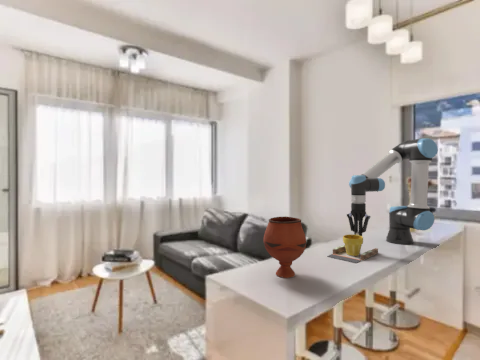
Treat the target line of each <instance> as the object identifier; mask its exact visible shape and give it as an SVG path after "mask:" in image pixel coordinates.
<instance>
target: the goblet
mask: <svg viewBox="0 0 480 360" xmlns="http://www.w3.org/2000/svg"><path fill="white" fill-rule="evenodd" d="M262 239H263V246H264V248H265V250H266V252H267V253H268V254H269V255H270V256H271V257H272V258H273V259H274V260H276V261H278V264H279V265H280V266H279V267H278V268H277V270H276V272H275V275H276V277H279V278H282V279H283V278H284V279H288V278H289V279H290V278H293V277H295V276H296V273H295V271H294V269H293V268H292V265H293V262H294V261H296V260H297V259H299V258H300V257H301V256H302V255H303V254H304V252H305V250H306V248H307V237H306V234H305V232H304V229H303V225H302V219H301V218H297V217H291V216H276V217H270V218H269V219H268V223H267V226H266V228H265V230H264V234H263V238H262Z"/></svg>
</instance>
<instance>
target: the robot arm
mask: <svg viewBox="0 0 480 360" xmlns="http://www.w3.org/2000/svg"><path fill="white" fill-rule="evenodd" d="M438 150H439V149H438V144H437V143H436V142H435V141H434V139H432V138H430V137H429V138H428V137H427V138H417V139H409V140H404V141H402V142H401V143H398V144H397V145H395V146H394V147H393V148H391V149H390V150H389V151H388V153H387V155H385V156H384V157H383V158H381V159H380V160H378V161H377V162H376V163H375V164H373V165H372V166H371V167H369V168H368V169H366V170H365V171H364V172H363V173H361V174H356V175H354V174H353V175H352V176H351V178H350V180H349V182H348V186H349V188H350V189H351V190H350V191H351V195H350V196H351V197H350V199H351V201H350V202H351V203H350V207H351V209H350V212H349V213H348V214H347V213H346V217H347V218H348V222H349V228H350V231H351V232H353V233H354V234H353V235H360V236H362V237H363V233H365V232H367V228H368V224H369V220H370V218H371V215H368V214H367V211H366V207H367V206H366V202H367V201H366V196H367V195H366V194H367V193H369V192H370V193H371V192H373V193H374V192H377V193H378V192H382V191H383V190H385V188H386V181H385V180H384V179H383V178H381V176H382V175H383V174H384V173H385V172H387V171H388V170H389V169H391V168H392V167H393V166H395V165H396V164H400V163H401V162H404V161H405V160H409V161H408V162H409V163H411V174H410V175H411V176H410V177H411V179H410V202H409V203H408V205H397V206H396V205H395V206H390V207H389V212H388V213H389V217H388V218H389V220H388V221H389V225H388V226H389V229H388V232H387V235H386V242H389V243H391V244H397V245H411V244H414V238H413V236H412V233H411V229H414V230H417V231H428V230H429V229H431V228H432V227H433V225H434V223H435V215H434V213H433V212H431V211H430V210H431V208H430V206H428V194H429V193H428V191H429V190H428V186H429V172H430V171H429V168H430V167H429V165H430V163H432V162H433V158H434V157H436V156H437V154H438ZM379 177H380V178H379ZM363 220H364V221H363Z"/></svg>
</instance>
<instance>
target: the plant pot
mask: <svg viewBox="0 0 480 360" xmlns="http://www.w3.org/2000/svg"><path fill="white" fill-rule="evenodd" d="M342 242H343V245H345V248H346V250H345V251H346V255H348V256H351V257H352V256H353V257H359V256H360V255H361V254H360V253H361V251H362V245H363V243H364V236H363V235H362V236H360V235H354V234H345V235H343V236H342Z"/></svg>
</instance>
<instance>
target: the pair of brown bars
mask: <svg viewBox="0 0 480 360" xmlns="http://www.w3.org/2000/svg"><path fill="white" fill-rule="evenodd" d="M345 251H346V248H345V244H343V245H340V246H337V247H334V248H332V254H336V255H339V254H340V253H342V252H345ZM378 253H379V248H377V247H375V248H373V249H370V250H367V251H365V252H363V253H361V254H359V257H360V258H359V259H360V260H361V261H365V260H368V259H369V258H371V257H373V256H375V255H378Z"/></svg>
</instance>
